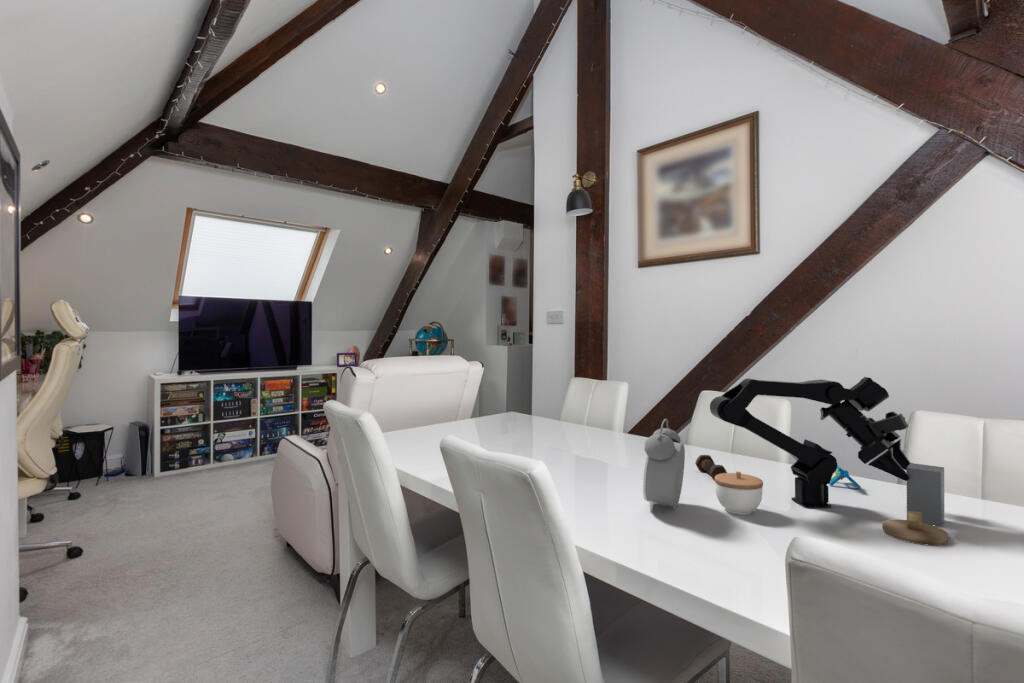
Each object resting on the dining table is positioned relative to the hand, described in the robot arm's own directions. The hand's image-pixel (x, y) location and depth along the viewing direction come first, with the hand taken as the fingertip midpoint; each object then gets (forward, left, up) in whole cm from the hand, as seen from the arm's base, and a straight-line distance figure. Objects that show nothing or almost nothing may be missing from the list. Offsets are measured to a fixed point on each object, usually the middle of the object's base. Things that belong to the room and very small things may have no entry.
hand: (910, 475), depth 117 cm
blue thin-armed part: (0, +24, -10) cm, 26 cm away
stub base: (-7, -10, -10) cm, 16 cm away
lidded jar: (-37, +6, -10) cm, 39 cm away
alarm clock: (-54, +9, -10) cm, 56 cm away
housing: (+2, -2, -10) cm, 10 cm away
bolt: (-32, +35, -10) cm, 48 cm away
